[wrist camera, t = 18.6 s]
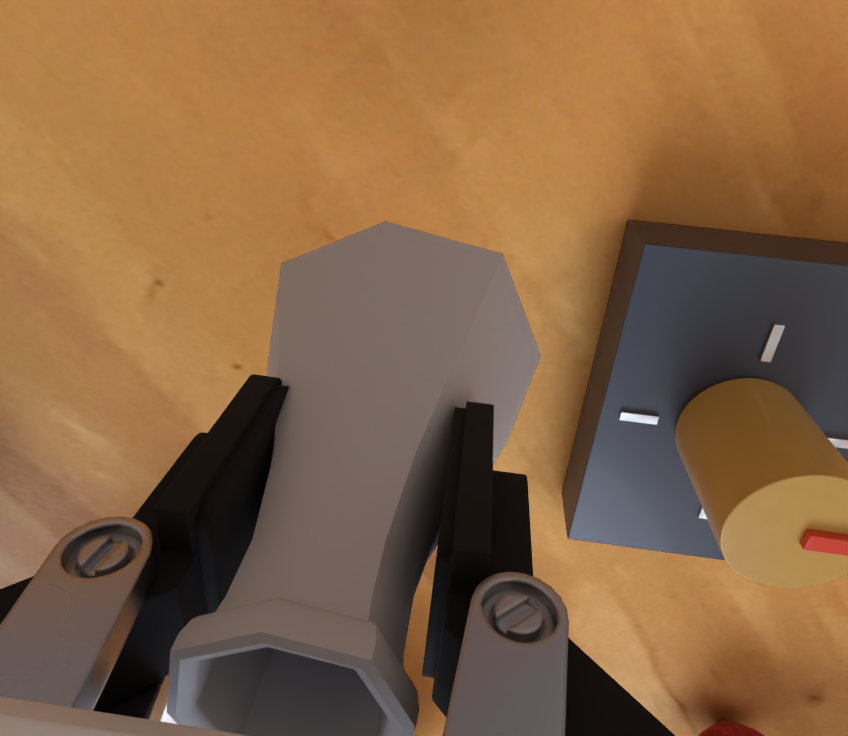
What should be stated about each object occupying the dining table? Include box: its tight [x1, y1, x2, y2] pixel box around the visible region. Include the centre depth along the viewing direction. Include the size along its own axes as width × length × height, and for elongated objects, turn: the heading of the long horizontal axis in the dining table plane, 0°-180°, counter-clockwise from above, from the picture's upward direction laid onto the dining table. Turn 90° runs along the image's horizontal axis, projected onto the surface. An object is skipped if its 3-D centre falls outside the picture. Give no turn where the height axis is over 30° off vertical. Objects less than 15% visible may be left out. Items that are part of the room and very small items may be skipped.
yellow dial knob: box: [675, 378, 848, 588], centre depth 20 cm, size 4×4×6 cm
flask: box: [167, 221, 541, 736], centre depth 12 cm, size 7×7×10 cm
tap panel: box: [562, 220, 848, 560], centre depth 24 cm, size 13×10×3 cm
